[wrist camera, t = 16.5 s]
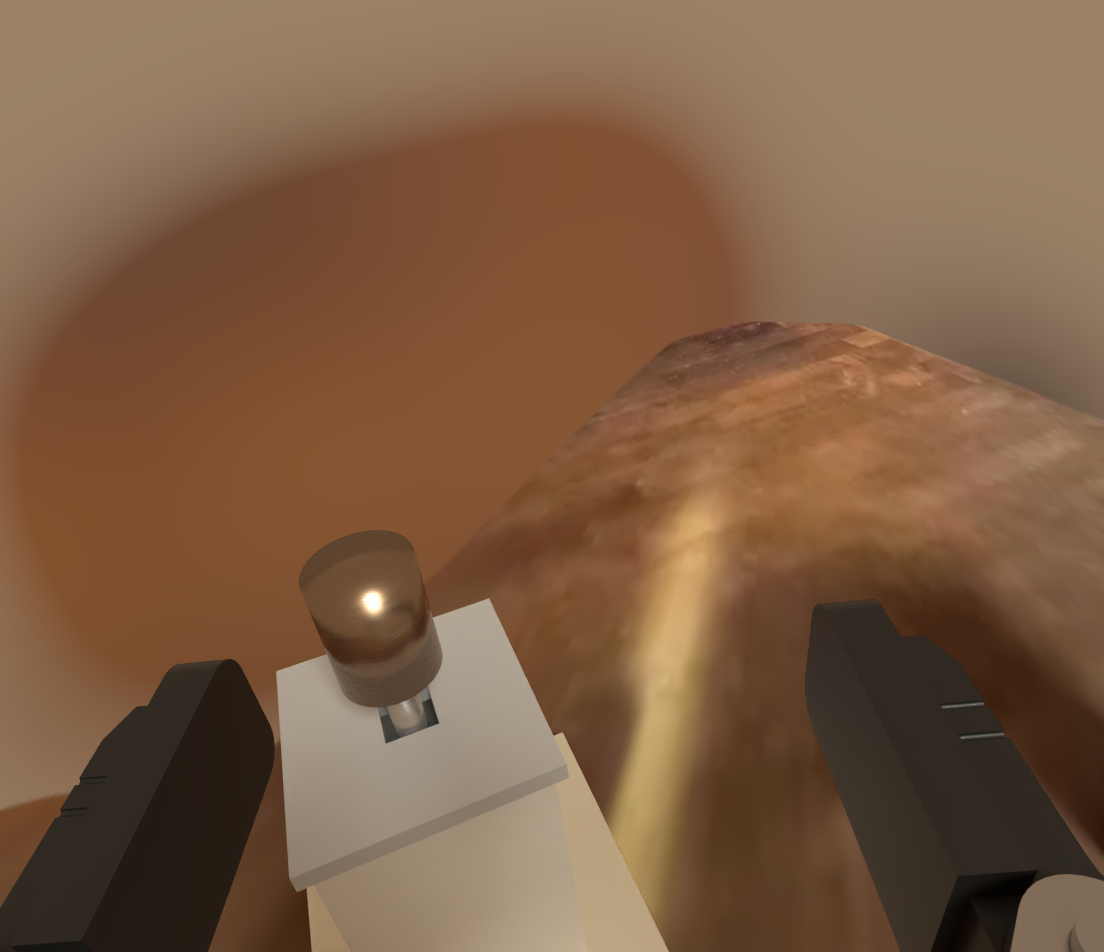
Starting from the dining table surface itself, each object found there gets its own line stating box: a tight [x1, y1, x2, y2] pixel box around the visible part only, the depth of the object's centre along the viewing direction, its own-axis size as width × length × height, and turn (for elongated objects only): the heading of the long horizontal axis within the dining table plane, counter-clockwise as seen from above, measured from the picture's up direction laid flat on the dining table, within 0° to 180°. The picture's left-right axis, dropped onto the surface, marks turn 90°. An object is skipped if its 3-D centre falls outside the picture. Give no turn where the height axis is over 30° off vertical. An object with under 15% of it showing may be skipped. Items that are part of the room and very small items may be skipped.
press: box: [277, 599, 669, 952], centre depth 40 cm, size 20×20×20 cm
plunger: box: [299, 530, 443, 739], centre depth 36 cm, size 9×9×24 cm
